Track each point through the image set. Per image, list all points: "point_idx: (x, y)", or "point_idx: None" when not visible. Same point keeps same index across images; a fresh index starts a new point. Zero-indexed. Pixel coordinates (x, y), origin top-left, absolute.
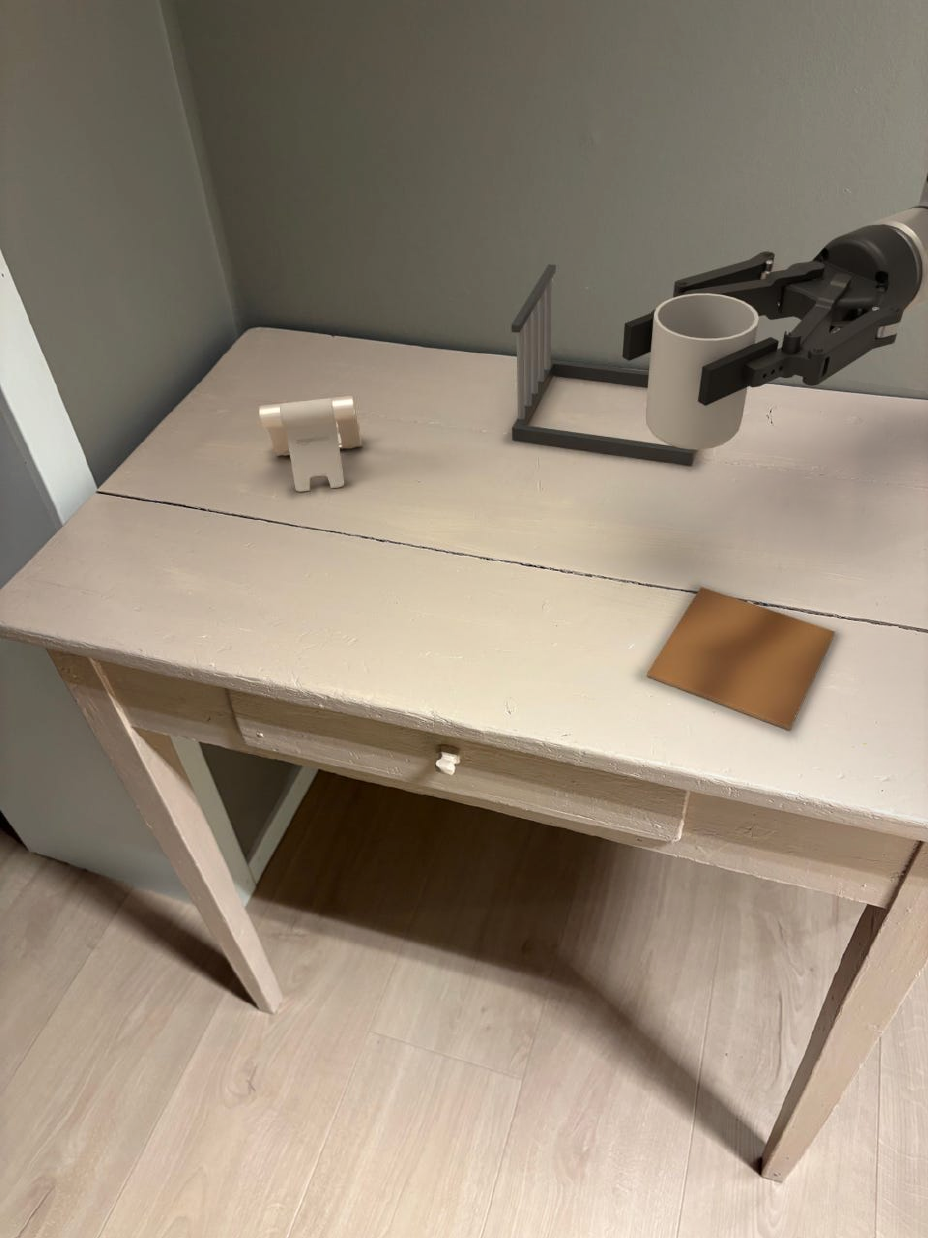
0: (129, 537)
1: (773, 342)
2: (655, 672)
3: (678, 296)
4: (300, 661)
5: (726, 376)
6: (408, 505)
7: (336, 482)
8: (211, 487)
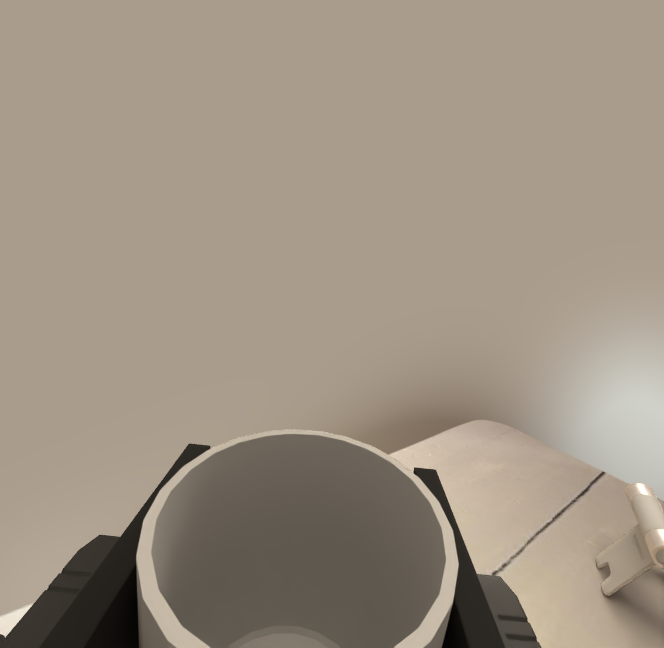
0: (544, 464)
1: (57, 625)
2: None
3: (454, 549)
4: None
5: None
6: (556, 631)
7: (606, 586)
8: (609, 516)
